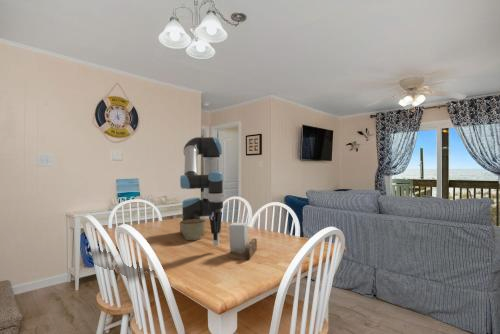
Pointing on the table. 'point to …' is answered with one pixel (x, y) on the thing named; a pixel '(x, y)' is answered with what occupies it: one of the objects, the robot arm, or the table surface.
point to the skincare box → (238, 237)
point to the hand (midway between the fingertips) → (216, 245)
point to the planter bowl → (192, 228)
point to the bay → (248, 253)
